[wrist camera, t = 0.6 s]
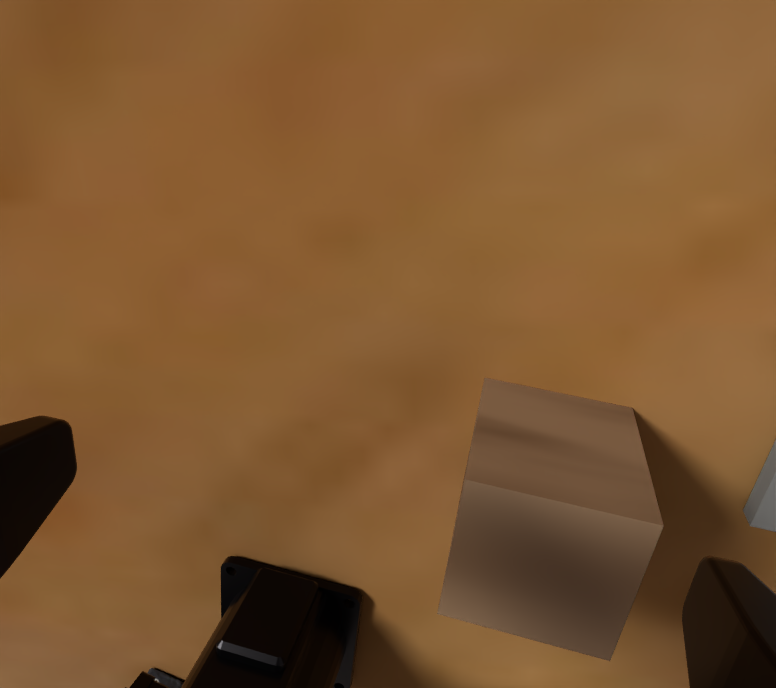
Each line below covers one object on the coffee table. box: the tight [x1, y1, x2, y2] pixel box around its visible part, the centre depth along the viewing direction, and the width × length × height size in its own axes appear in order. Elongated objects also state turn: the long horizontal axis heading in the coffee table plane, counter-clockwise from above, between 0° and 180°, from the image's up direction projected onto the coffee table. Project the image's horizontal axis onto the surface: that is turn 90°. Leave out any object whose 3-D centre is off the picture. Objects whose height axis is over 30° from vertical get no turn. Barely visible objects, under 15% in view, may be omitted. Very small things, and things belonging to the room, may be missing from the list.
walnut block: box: [437, 378, 664, 661], centre depth 19 cm, size 5×5×6 cm
